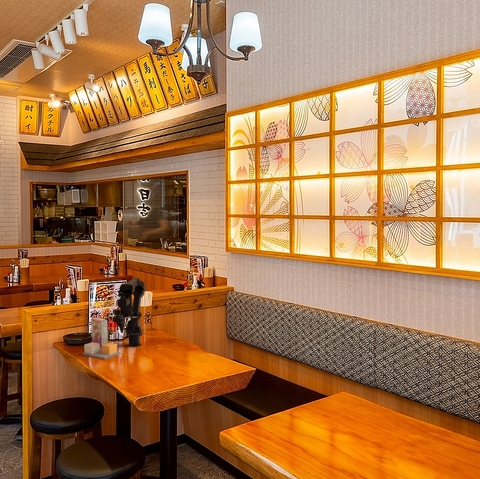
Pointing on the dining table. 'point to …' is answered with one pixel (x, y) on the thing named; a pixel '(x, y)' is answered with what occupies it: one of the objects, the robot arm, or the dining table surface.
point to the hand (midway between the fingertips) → (127, 331)
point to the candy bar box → (99, 331)
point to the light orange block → (109, 348)
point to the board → (96, 351)
